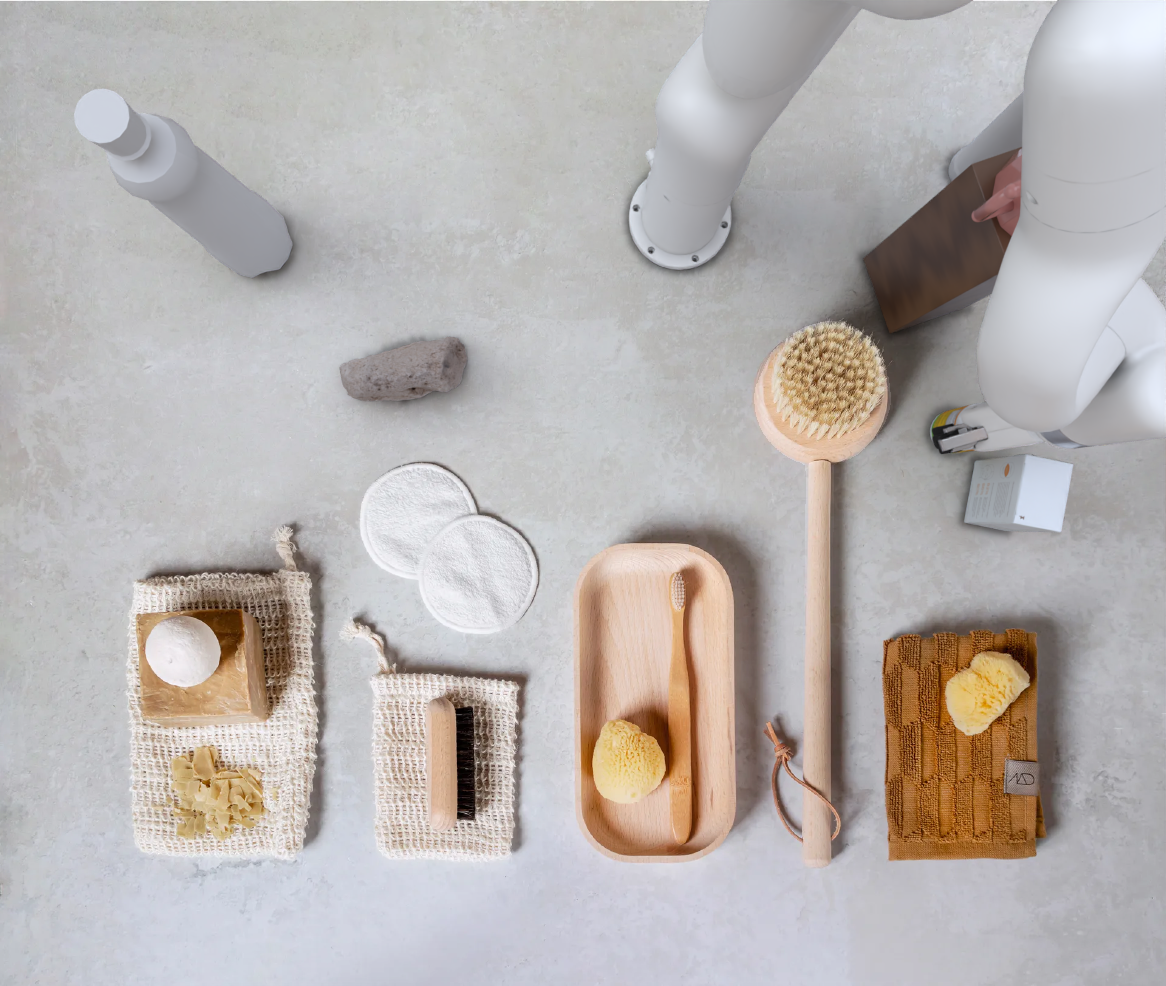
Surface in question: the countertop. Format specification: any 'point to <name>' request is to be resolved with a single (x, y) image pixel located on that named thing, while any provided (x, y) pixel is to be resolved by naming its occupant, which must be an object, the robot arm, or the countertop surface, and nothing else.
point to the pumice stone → (406, 371)
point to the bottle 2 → (992, 139)
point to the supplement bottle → (951, 421)
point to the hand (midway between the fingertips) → (975, 427)
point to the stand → (941, 252)
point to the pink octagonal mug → (1004, 196)
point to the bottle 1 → (185, 184)
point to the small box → (1019, 493)
